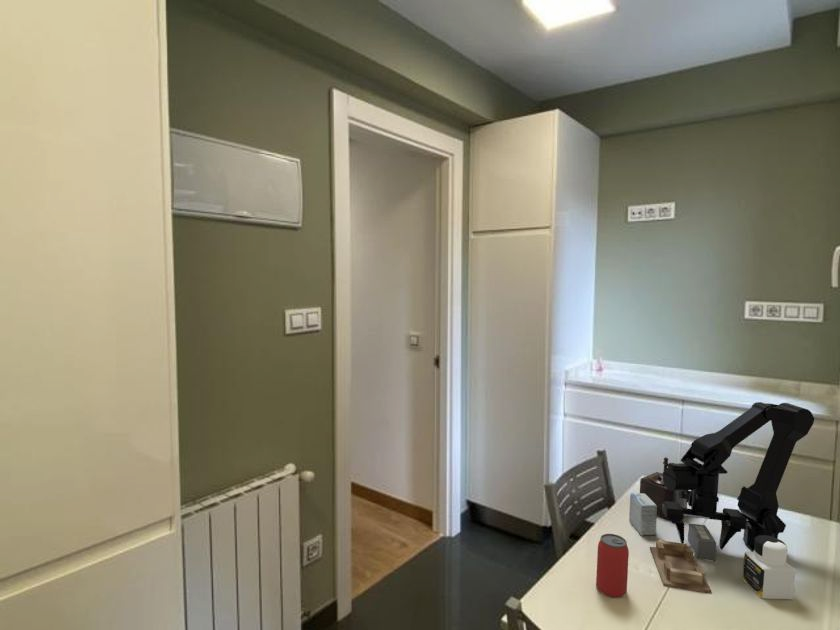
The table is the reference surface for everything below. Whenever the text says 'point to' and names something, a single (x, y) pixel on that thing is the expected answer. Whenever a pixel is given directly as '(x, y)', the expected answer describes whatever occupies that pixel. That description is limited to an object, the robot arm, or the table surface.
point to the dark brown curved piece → (660, 490)
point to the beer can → (612, 565)
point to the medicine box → (643, 513)
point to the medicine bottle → (769, 569)
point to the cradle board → (678, 566)
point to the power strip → (702, 542)
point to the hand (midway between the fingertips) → (701, 546)
